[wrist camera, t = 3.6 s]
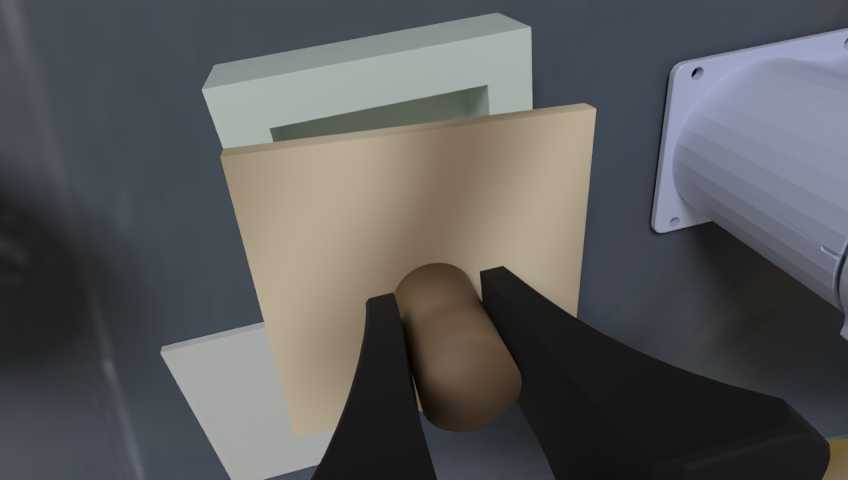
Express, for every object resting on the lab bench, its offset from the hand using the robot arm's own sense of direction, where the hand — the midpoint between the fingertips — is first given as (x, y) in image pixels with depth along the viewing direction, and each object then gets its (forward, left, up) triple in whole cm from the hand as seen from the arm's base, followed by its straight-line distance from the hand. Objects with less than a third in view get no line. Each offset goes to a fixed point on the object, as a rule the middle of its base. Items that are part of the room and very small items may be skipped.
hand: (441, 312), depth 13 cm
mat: (+6, +11, -9) cm, 16 cm away
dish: (0, 0, -10) cm, 10 cm away
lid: (0, 0, -2) cm, 2 cm away
